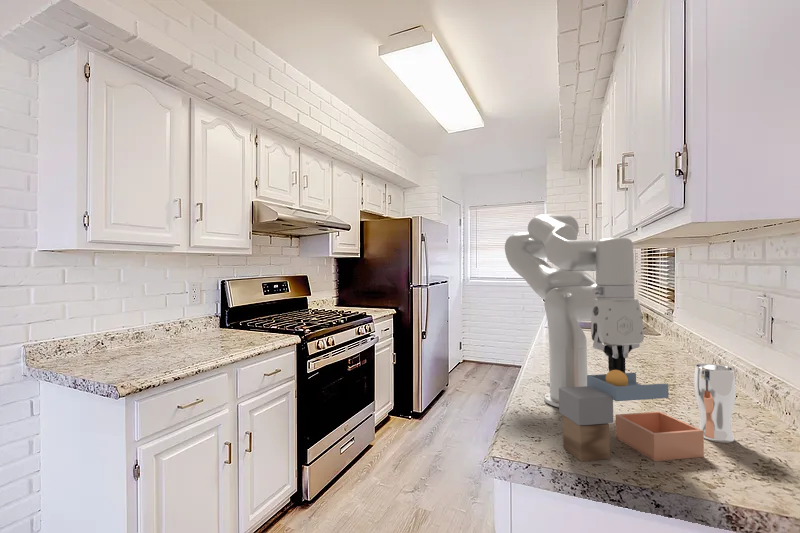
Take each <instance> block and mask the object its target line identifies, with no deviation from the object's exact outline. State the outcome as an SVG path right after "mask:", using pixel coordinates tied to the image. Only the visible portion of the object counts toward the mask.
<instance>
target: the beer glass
mask: <svg viewBox="0 0 800 533" xmlns="http://www.w3.org/2000/svg"><path fill="white" fill-rule="evenodd" d="M734 370H735V368H733V367H731V366H727V365H723V364H717V363H704V362H703V363H702V362H701V363H695V365H694V375H693V376H694V377H693V382H694V383H693V386H694V387H693V388H694V394H695V401H696V404H697V408H698V412H699V425H698V428H699V429H701V430H703V436H704V439H705V440H706V441H707V440H708V441H711V442H715V443H720V444H721V443H722V444H723V443H724V444H729V443H733V442H735V435H734V433H733V432H734V431H733V429H732V428H733V427H732V417H733V412H734V408H735V401H736V391H737V390H736V378H735V371H734Z"/></svg>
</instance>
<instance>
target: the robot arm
mask: <svg viewBox="0 0 800 533" xmlns="http://www.w3.org/2000/svg"><path fill="white" fill-rule="evenodd" d="M579 228H580V227H579V223H578V221H577V219H576V218H574V217H573V216H571V215H570V214H539V215H536V216H535V217H533V218H532V219H530V220H529V222H528V224H527V232H518V233H514V234H512V235H509V236H508V237H507V238H506V241H505V243H504V253H505V258H506V259H507V262H508V264H509V266H510V267H511V268H512V270H514V271H515V272H516V273H517V274H518V275H519V276H520V277H522V278H523V279H524V281H526V283H527V284H528V285H529V286H530V288H531V289H532V290H533V291H534V292H535V294H536V295H537V296H538V297H540V299H542V300H544V301H543V303H544V311H545V315H546V319H547V321H546V322H547V327H548V347H549V348H548V352H549V353H548V355H549V357H548V359H549V362H548V363H549V381H547V383H546V386H547V387H549V392H548V393H545V394H544V396H543V397H544V398H543V400H544V402H545V403H546V404H547V405H550V406H553V407H555V408H559V388H567V387H584V386H587V375H588V342H587V337H586V334H585V332H584V330H583V329H582V327H581V326H580V324H579V323H578V322H590V334H591V340H592V341H593V344H592V348H593V349H595V350H599V351H602V352H603V353H604V354H605V356H606V357H607V358H608V360H607V362H608V372H609V371H611V370H619V371H622V372H623V373H626V359H628V357H629V354H630V352H631V351H632V350H634V349H637V348H639V347H640V345H641V343H643V342H644V339H645V338H644V337H645V332H644V321H643V314H642V309H641V305H640V301H639V299H637V298H635V268H634V264H635V262H634V261H635V260H634V244H633V241H632V239H630V238H627V237H607V238H602V239H578V236H579V231H580V230H579ZM544 259H547V260H548V262H550V263H551V264H553V265H554V266H555V267H557V268H555V267H552V266H550V264H548V262H547V261H545V260H544ZM587 271H588V272H589V271H590V272H595V278H593V276H591V275H590V274H589V273H588V272H587Z"/></svg>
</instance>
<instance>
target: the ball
mask: <svg viewBox="0 0 800 533" xmlns="http://www.w3.org/2000/svg"><path fill="white" fill-rule="evenodd" d="M625 373H626V372H625ZM625 373H623V372H622V371H619V370H611V371H609V370H608V372H607V373H606V374H607V375H606V382H607V383H610V384H612V385H615V386H627V385H628V378H627V376H626V375H625Z"/></svg>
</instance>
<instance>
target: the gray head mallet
mask: <svg viewBox="0 0 800 533" xmlns="http://www.w3.org/2000/svg"><path fill="white" fill-rule="evenodd" d="M606 375H607V373H603V374H602V373H601V374H600V373H599V374H587V386H584V387H567V388H559V407H558V409H559V410H558V413H560V414H561V415H562V416H563V415H564V416H566V417H567V418H569V419H570V420H572V421H573V422H575V423H576V424H578V425H593V424H606V423H608V424H614V401H615V402H628V401H629V402H630V401H642V400H655V399H656V400H657V399H669V396H670V394H669V392H670V391H669V384H668V383H666V382H665V383H653V384H652V383H651V384H641V383H639V381H638V380H637V373H636V372H625V375H626V376H627V378H628V385H627V386H615V385H612V384H610V383H607V382H606Z"/></svg>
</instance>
